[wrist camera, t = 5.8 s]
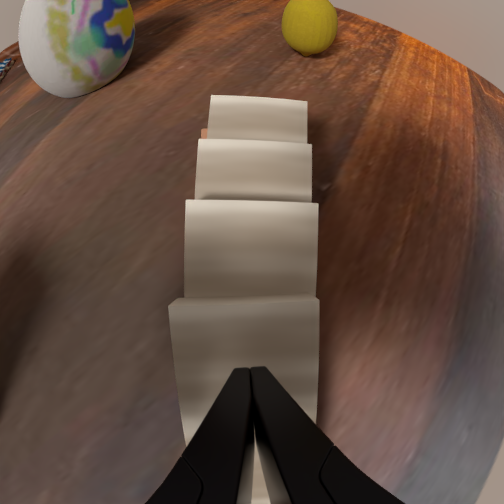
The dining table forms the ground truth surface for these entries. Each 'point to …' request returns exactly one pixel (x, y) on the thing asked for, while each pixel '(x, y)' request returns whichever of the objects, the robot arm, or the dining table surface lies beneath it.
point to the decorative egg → (75, 43)
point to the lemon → (309, 25)
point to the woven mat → (5, 67)
